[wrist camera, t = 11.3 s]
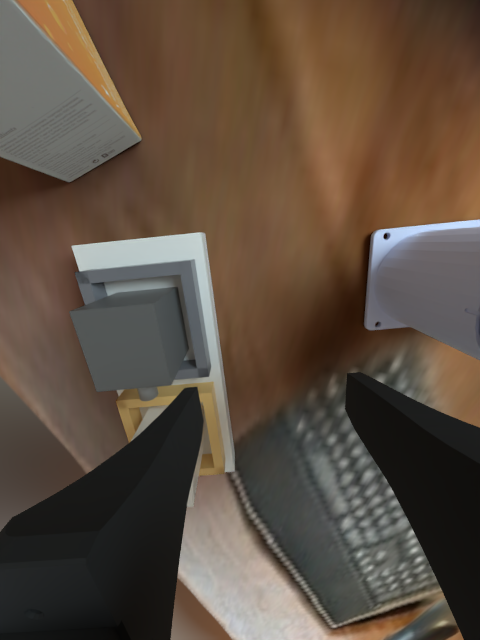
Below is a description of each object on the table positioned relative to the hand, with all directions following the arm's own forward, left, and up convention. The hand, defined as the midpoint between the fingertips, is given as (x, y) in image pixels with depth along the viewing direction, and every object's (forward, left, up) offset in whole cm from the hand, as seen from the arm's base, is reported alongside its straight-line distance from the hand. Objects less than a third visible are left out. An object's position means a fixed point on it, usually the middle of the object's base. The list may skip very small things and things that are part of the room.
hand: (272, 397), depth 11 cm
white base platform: (+8, +3, -9) cm, 13 cm away
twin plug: (+8, -2, -7) cm, 11 cm away
